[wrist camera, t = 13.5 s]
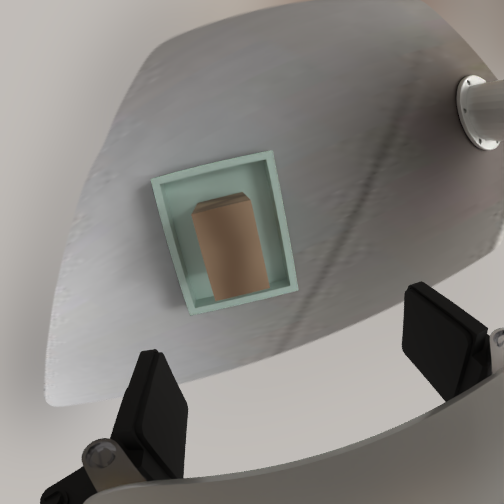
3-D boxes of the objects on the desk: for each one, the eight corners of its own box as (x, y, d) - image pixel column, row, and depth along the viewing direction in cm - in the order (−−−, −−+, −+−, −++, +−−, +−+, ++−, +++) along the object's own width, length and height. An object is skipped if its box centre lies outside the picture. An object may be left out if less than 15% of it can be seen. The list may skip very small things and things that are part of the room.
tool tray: (267, 151, 31) (272, 150, 29) (292, 280, 36) (298, 290, 33) (156, 177, 31) (150, 179, 28) (191, 304, 36) (190, 315, 33)
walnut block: (242, 191, 32) (250, 199, 24) (258, 260, 34) (270, 288, 26) (197, 202, 31) (191, 214, 24) (215, 270, 34) (215, 301, 26)
